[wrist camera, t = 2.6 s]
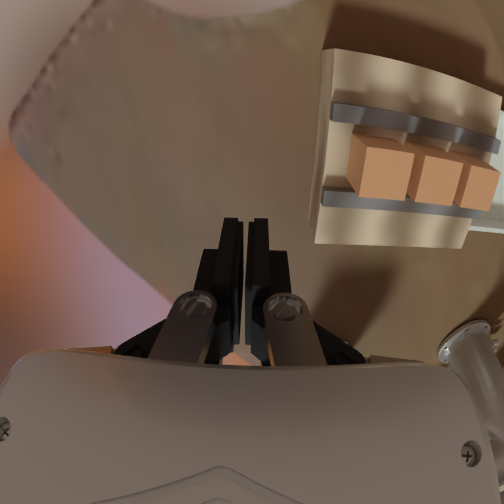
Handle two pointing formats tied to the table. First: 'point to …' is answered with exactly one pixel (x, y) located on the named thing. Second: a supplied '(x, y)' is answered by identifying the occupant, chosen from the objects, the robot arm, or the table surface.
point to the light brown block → (433, 174)
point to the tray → (500, 213)
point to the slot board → (401, 129)
